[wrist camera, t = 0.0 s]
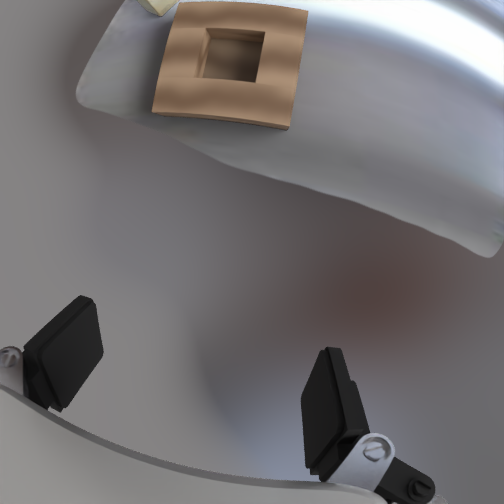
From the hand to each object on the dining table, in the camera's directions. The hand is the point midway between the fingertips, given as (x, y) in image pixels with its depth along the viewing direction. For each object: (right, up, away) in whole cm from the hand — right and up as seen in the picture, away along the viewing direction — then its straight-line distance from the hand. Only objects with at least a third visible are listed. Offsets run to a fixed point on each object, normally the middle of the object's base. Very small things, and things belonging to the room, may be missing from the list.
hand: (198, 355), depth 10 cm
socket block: (-1, +31, +22) cm, 38 cm away
